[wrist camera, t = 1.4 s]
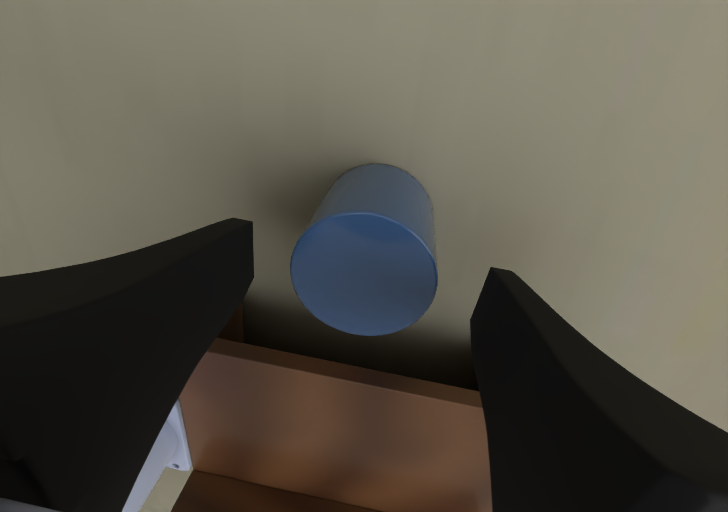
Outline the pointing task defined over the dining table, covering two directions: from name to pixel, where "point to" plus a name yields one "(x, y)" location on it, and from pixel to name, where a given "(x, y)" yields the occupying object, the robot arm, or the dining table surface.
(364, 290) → the blue cup
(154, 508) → the dining table surface
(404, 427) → the shelf
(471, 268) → the dining table surface
